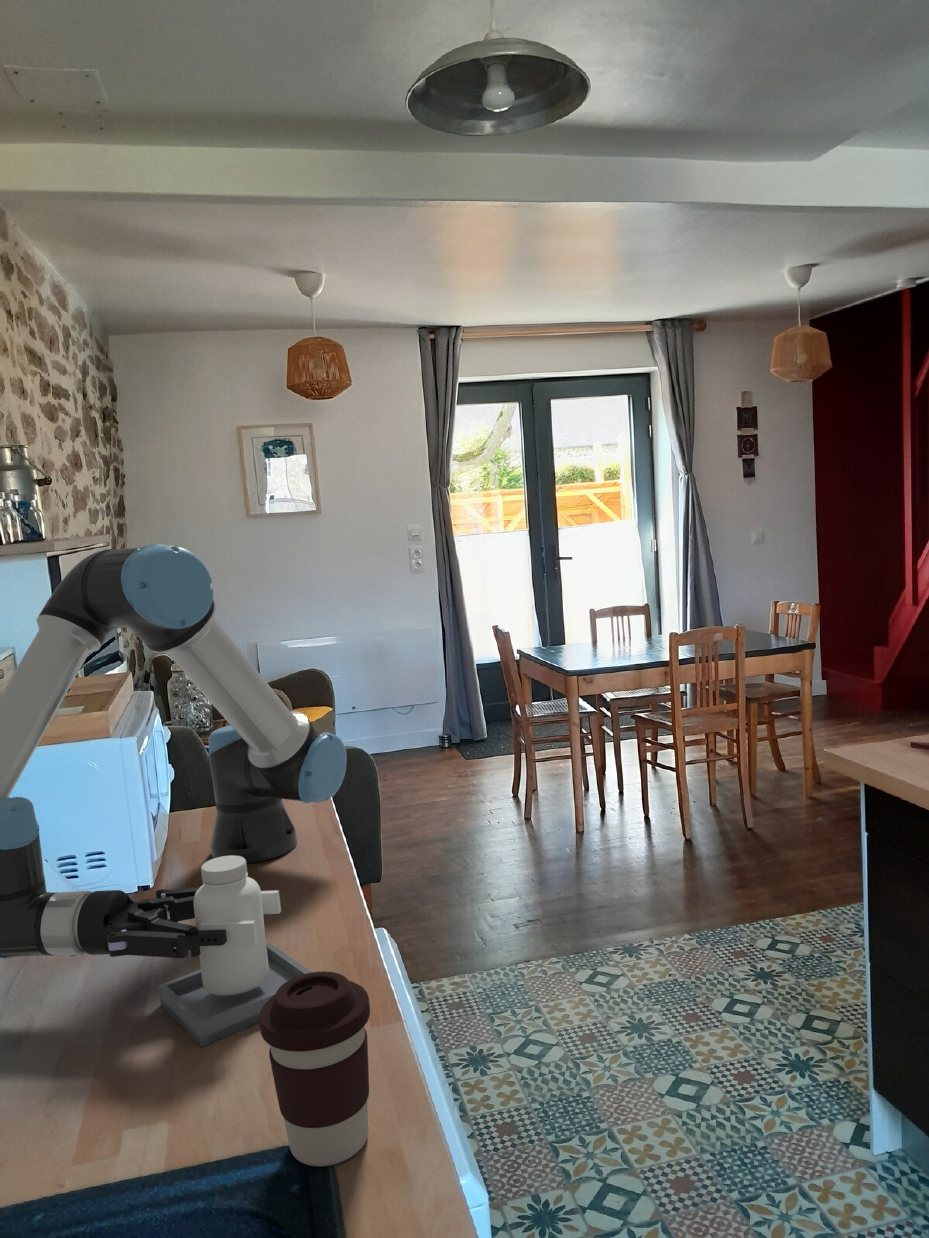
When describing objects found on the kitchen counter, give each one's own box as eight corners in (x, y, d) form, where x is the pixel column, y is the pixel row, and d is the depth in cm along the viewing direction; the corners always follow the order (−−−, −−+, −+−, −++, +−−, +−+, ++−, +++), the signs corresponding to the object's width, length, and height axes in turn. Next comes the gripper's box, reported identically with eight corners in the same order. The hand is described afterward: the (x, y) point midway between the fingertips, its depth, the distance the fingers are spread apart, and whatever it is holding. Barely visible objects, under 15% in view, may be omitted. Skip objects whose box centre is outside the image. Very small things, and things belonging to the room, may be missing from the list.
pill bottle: (253, 998, 108) (239, 875, 106) (191, 997, 110) (175, 875, 108) (280, 965, 116) (267, 850, 114) (221, 964, 118) (207, 850, 116)
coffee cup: (389, 1165, 82) (372, 1005, 80) (275, 1190, 80) (255, 1027, 78) (377, 1098, 91) (361, 954, 90) (275, 1119, 90) (257, 972, 88)
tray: (271, 960, 123) (269, 942, 123) (319, 995, 113) (317, 975, 112) (160, 1004, 114) (158, 985, 113) (201, 1046, 103) (198, 1025, 103)
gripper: (134, 915, 125) (297, 909, 122) (47, 994, 105) (240, 990, 102) (127, 861, 124) (290, 854, 121) (38, 931, 104) (232, 925, 101)
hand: (267, 916), depth 111 cm, fingers closed on pill bottle, 8 cm apart
